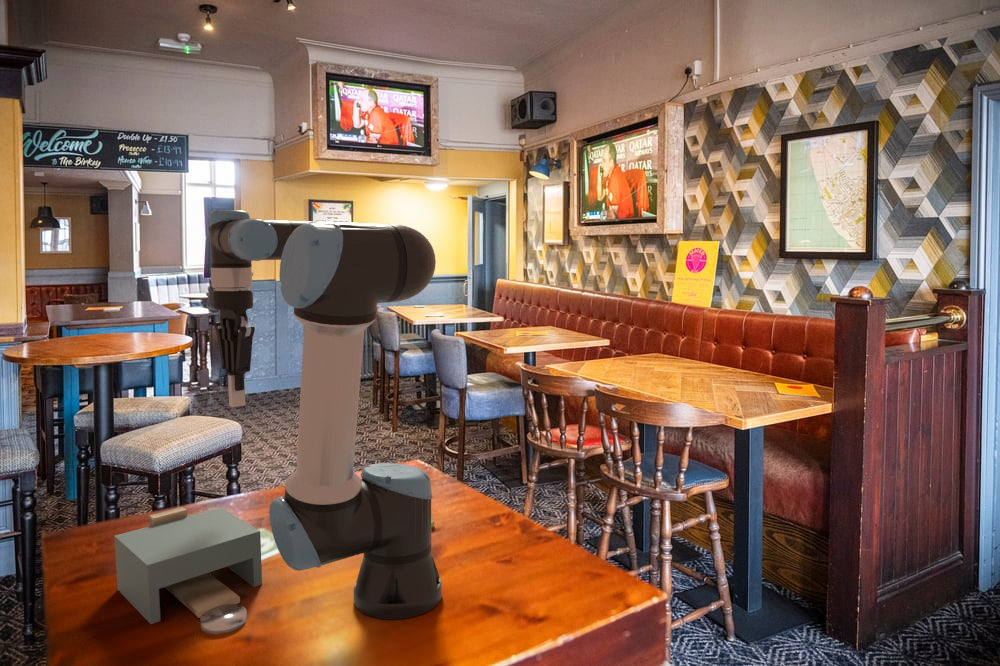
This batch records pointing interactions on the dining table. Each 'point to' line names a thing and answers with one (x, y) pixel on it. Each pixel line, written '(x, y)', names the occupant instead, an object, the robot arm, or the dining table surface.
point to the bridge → (184, 555)
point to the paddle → (196, 579)
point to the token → (223, 619)
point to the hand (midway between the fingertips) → (237, 405)
